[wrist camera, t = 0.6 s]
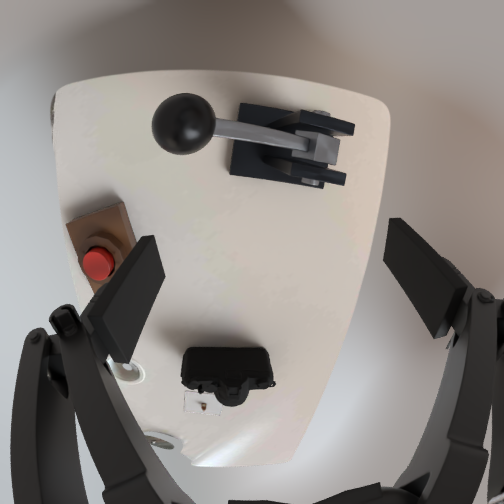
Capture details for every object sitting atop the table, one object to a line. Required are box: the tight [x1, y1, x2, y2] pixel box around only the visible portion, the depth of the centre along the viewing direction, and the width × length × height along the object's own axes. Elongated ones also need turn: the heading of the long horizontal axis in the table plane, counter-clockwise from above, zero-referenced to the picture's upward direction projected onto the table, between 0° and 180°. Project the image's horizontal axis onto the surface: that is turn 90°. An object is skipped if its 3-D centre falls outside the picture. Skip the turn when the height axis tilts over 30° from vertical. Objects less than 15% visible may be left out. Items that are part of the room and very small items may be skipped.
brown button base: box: [66, 202, 137, 294], centre depth 33 cm, size 12×9×4 cm
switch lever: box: [152, 93, 340, 165], centre depth 17 cm, size 14×4×4 cm, turn 82°
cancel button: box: [83, 247, 114, 280], centre depth 30 cm, size 4×4×2 cm
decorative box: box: [184, 391, 223, 415], centre depth 48 cm, size 8×8×2 cm
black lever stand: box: [229, 103, 355, 189], centre depth 25 cm, size 12×9×15 cm
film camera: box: [181, 347, 276, 407], centre depth 40 cm, size 15×10×9 cm, turn 85°
